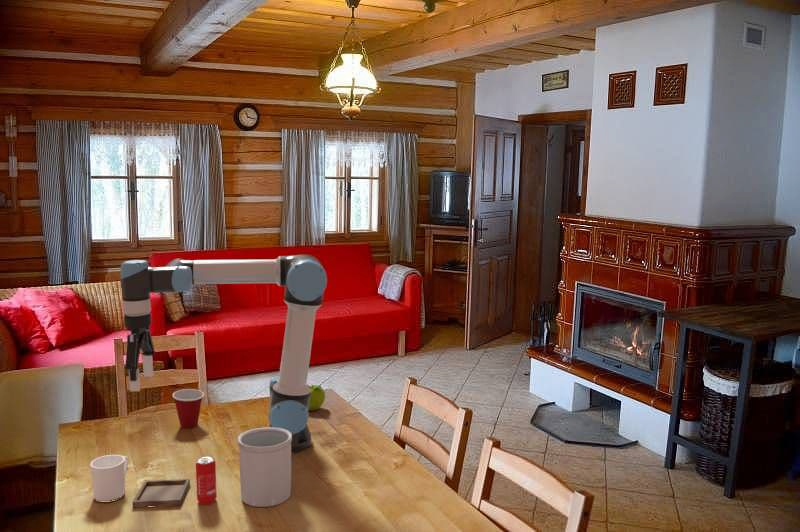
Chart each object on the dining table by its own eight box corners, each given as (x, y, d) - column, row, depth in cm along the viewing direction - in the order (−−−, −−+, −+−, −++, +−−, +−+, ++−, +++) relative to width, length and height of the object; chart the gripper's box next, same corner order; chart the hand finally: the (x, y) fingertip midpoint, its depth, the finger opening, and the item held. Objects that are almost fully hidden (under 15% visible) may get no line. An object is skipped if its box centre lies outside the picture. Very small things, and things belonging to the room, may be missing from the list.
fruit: (315, 415, 253) (314, 389, 252) (295, 410, 258) (294, 385, 256) (329, 407, 261) (329, 382, 259) (310, 403, 266) (310, 378, 264)
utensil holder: (246, 482, 200) (245, 425, 197) (297, 483, 199) (296, 426, 197) (233, 507, 185) (231, 446, 183) (287, 509, 185) (286, 447, 182)
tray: (190, 484, 198) (189, 478, 198) (180, 506, 186) (180, 500, 186) (145, 486, 197) (145, 480, 197) (132, 508, 185) (132, 501, 184)
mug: (105, 507, 185) (103, 471, 184) (85, 498, 190) (83, 463, 188) (139, 490, 194) (137, 456, 193) (120, 483, 199) (118, 449, 197)
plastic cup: (195, 433, 236) (194, 399, 234) (167, 429, 238) (166, 397, 237) (211, 421, 246) (210, 389, 244) (184, 418, 249) (183, 387, 247)
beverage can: (199, 507, 185) (197, 465, 184) (195, 499, 190) (193, 458, 188) (218, 503, 188) (217, 462, 186) (214, 495, 192) (213, 454, 190)
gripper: (137, 304, 211) (141, 370, 214) (109, 323, 186) (115, 398, 190) (161, 304, 212) (165, 370, 215) (137, 323, 187) (142, 397, 190)
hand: (142, 383), depth 202 cm, fingers open, 13 cm apart
